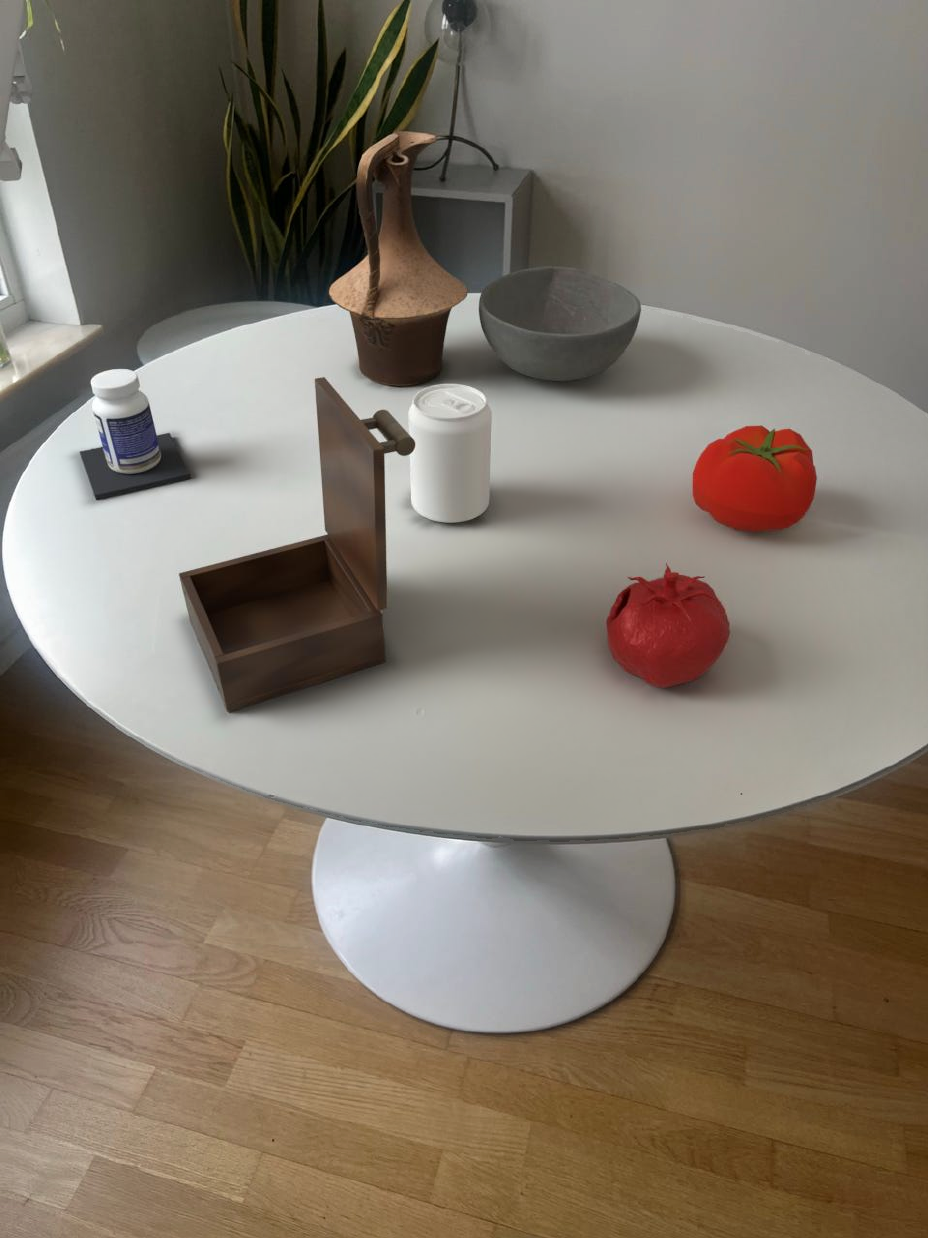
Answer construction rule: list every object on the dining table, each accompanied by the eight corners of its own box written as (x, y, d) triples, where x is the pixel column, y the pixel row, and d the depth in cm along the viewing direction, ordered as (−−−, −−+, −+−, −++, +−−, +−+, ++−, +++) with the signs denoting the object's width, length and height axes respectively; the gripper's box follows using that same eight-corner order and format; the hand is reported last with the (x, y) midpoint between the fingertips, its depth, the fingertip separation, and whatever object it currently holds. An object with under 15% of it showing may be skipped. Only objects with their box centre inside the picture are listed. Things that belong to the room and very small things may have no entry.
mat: (95, 500, 97) (94, 495, 97) (80, 456, 104) (79, 451, 104) (191, 478, 101) (190, 473, 100) (170, 437, 108) (169, 432, 107)
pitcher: (433, 410, 113) (429, 161, 95) (310, 386, 118) (283, 144, 100) (485, 353, 126) (490, 123, 107) (371, 333, 130) (358, 109, 112)
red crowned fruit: (745, 670, 78) (769, 583, 72) (655, 717, 74) (673, 628, 68) (664, 607, 84) (681, 522, 78) (577, 646, 80) (588, 559, 74)
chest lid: (373, 450, 66) (437, 437, 67) (314, 378, 74) (372, 368, 76) (377, 611, 75) (433, 596, 77) (324, 530, 83) (376, 518, 85)
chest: (227, 712, 74) (216, 663, 71) (189, 620, 83) (178, 573, 79) (386, 662, 79) (382, 614, 75) (334, 580, 87) (329, 533, 84)
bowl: (452, 389, 117) (452, 311, 111) (509, 329, 132) (512, 257, 125) (607, 419, 111) (616, 339, 105) (649, 353, 126) (659, 279, 119)
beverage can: (442, 477, 101) (441, 374, 94) (504, 501, 98) (508, 395, 90) (395, 510, 96) (390, 404, 89) (458, 536, 93) (459, 428, 85)
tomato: (737, 564, 90) (756, 488, 84) (663, 499, 98) (675, 427, 93) (839, 532, 94) (863, 458, 88) (759, 473, 102) (777, 402, 97)
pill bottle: (172, 454, 104) (153, 370, 97) (143, 479, 99) (121, 394, 93) (127, 445, 105) (106, 362, 99) (97, 470, 101) (73, 385, 94)
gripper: (-95, -132, 67) (-10, 58, 79) (-142, 39, 58) (-38, 225, 70) (-5, -137, 68) (66, 53, 80) (-38, 33, 58) (48, 218, 71)
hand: (17, 135), depth 75 cm, fingers open, 8 cm apart
